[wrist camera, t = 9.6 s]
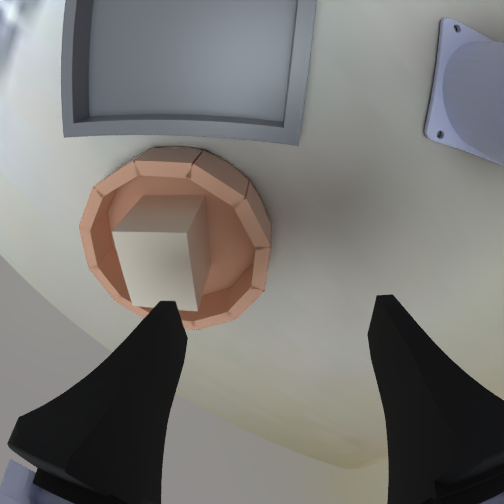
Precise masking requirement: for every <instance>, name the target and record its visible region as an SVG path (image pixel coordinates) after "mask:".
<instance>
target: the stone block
mask: <svg viewBox="0 0 504 504" xmlns="http://www.w3.org/2000/svg"><path fill="white" fill-rule="evenodd" d="M112 235H113V239H114V243H115V246H116V250H117V254H118V258H119V261H120V265H121V269H122V272H123V276H124V279H125V282H126V286H127V289H128V292H129V295H130V299H131V302H132V305H133V306H140V307H150V308H154V307H155V306H156V305H157V304H158V303H159V301H176V304H177V308H178V310H185V311H198V309H199V305H200V302H201V298H202V295H203V291H204V288H205V284H206V281H207V277H208V274H209V270H210V267H211V257H210V245H209V234H208V221H207V208H206V195H143V196H142V197H141V198H140V199H139V201H138V202H137V203H136V204H135V205H134V206H133V207H132V208H131V210H130V211H129V212H128V213H127V214H126V215H125V216H124V218H123V219H122V220H121V221H120V222H119V224H118V225H117V226H116V227H115V228H114V230H113V231H112Z"/></svg>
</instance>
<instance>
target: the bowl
mask: <svg viewBox="0 0 504 504" xmlns="http://www.w3.org/2000/svg"><path fill="white" fill-rule="evenodd" d="M143 195H206V208H207V221H208V234H209V245H210V257H211V267H210V270H209V274H208V277H207V281H206V284H205V288H204V291H203V295H202V298H201V302H200V305H199V309H198V311H185V310H178V311H179V314H180V317H181V320H182V323H183V326H184V328H186V329H193V330H195V328H196V330H198V329H201V328H205V327H209V326H213V325H217V324H221V323H225V322H228V321H232V320H235V319H237V318H238V317H239V316H240V315H241V314H242V313H243V312H244V311H245V310H246V309H247V308H248V307H249V306H250V305H251V304H252V303H253V302H254V301H255V300H256V299H257V298H258V297H259V296H260V295H261V294H262V293H263V292H264V290H265V284H266V277H267V270H268V263H269V256H270V249H271V223H270V221H269V219H268V217H267V213H266V209H265V207H264V204H263V202H262V199H261V198H260V196H259V194H258V192H257V191H256V189H255V188H254V186H253V185H252V184H251V182H250V181H249V179H247V178H246V177H245V176H244V175H243V174H242V173H241V172H240V171H239V170H238V169H237V168H236V167H234V166H233V165H232V164H230V163H229V162H227V161H226V160H224V159H222V158H220V157H219V156H217V155H214V154H212V153H209V152H207V151H204V150H200V149H196V148H192V147H184V146H166V147H161V148H150V149H148V150H147V151H145V152H143V153H141V154H140V155H138V156H136V157H134V158H133V159H131V160H130V161H128V162H127V163H125V164H123V165H122V166H120V167H119V168H117V169H116V170H114V171H113V172H111V173H110V174H109V175H107V176H106V177H105V178H104V179H102V180H101V181H100V182H99V183H97V184H96V185H95V186H94V187H93V189H92V191H91V194H90V197H89V199H88V202H87V205H86V208H85V210H84V213H83V216H82V219H81V222H80V225H79V226H80V227H79V229H80V234H81V239H82V243H83V248H84V252H85V256H86V260H87V264H88V267H89V269H90V270H91V272H92V273H93V274H94V276H95V277H96V278H97V279H98V281H99V282H100V283H101V285H102V286H103V287H104V288H105V290H106V291H107V292H108V293H109V294H110V296H111V297H112V298H113V299H114V300H115V301H116V300H117V301H116V302H117V303H119V304H120V305H122V306H124V307H126V308H127V309H129V310H131V311H132V312H134V313H136V314H138V315H139V316H141V317H143V318H145V317H146V316H147V315H148V314H149V312H150V311H151V310H152V309H153V308H150V307H140V306H133V305H132V302H131V299H130V295H129V292H128V289H127V286H126V282H125V279H124V276H123V272H122V269H121V265H120V261H119V258H118V254H117V250H116V246H115V243H114V239H113V235H112V231H113V230H114V228H115V227H116V226H117V225H118V224H119V222H120V221H121V220H122V219H123V218H124V216H125V215H126V214H127V213H128V212H129V211H130V210H131V208H132V207H133V206H134V205H135V204H136V203H137V202H138V201H139V199H140V198H141V197H142V196H143Z"/></svg>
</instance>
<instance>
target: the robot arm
mask: <svg viewBox="0 0 504 504" xmlns="http://www.w3.org/2000/svg"><path fill="white" fill-rule="evenodd" d="M454 25H455V26H456V27H457V30H458V31H457V32H456V31H455V30H454ZM438 131H441V136H440V137H437V133H438ZM424 133H425V136H426V137H427V138H428V139H430V140H432V141H435V142H439V143H442V144H445V145H448V146H451V147H454V148H457V149H460V150H463V151H466V152H468V153H471V154H474V155H477V156H479V157H482V158H484V159H487V160H490V161H492V162H495V163H497V164H499V165H502V166H504V42H494V41H493V40H491V39H489V38H488V37H486V36H484V35H482V34H480V33H479V32H477V31H475V30H473V29H471V28H469V27H467V26H465V25H463V24H461V23H459V22H457V21H455V20H453V19H451V18H443V19H442V20H441V24H440V35H439V45H438V54H437V62H436V69H435V76H434V82H433V88H432V94H431V100H430V105H429V110H428V115H427V120H426V125H425V130H424ZM187 339H188V338H187V335H186V332H185V329H184V326H183V323H182V320H181V317H180V314H179V311H178V308H177V304H176V301H159V303H158V304H157V305H156V306H155V307H154V308H153V309H152V310H151V311H150V312H149V314H148V315H147V316H146V317H145V318H144V319H143V320H142V321H141V323H140V324H139V325H138V326H137V327H136V328H135V329H134V330H133V332H132V333H131V334H130V335H129V336H128V337H127V338H126V339H125V340H124V341H123V342H122V343H121V344H120V345H119V346H118V348H117V349H116V350H115V351H114V352H113V353H112V354H111V355H110V356H109V357H108V358H107V359H106V360H104V361H103V362H102V363H101V364H100V365H99V366H98V367H97V368H96V369H94V370H93V371H92V372H91V373H90V374H89V375H87V376H86V377H85V378H84V379H82V380H81V381H80V382H78V383H77V384H75V385H74V386H73V387H71V388H70V389H69V390H67V391H66V392H64V393H63V394H61V395H60V396H58V397H57V398H55V399H53V400H52V401H50V402H48V403H47V404H45V405H43V406H41V407H39V408H38V409H35V410H33V411H31V412H29V413H27V414H25V415H23V416H20V417H19V418H18V420H17V423H16V425H15V427H14V430H13V432H12V434H11V436H10V439H9V441H8V446H9V448H10V449H12V450H13V451H14V452H15V453H17V454H18V455H19V456H21V457H22V458H24V459H25V460H27V461H28V462H30V463H31V464H33V465H34V466H36V467H37V468H38V469H37V472H36V473H35V472H33V471H31V470H30V469H28V468H26V467H24V466H22V465H20V464H18V463H17V462H15V461H13V460H12V459H11V460H9V463H8V466H7V469H6V471H5V474H4V477H3V480H2V483H1V486H0V504H161V478H162V463H163V453H164V444H165V436H166V430H167V423H168V418H169V413H170V409H171V406H172V402H173V399H174V395H175V392H176V388H177V385H178V382H179V378H180V374H181V371H182V367H183V364H184V359H185V353H186V346H187ZM368 341H369V348H370V355H371V360H372V364H373V368H374V372H375V376H376V380H377V384H378V388H379V392H380V396H381V400H382V404H383V408H384V414H385V420H386V429H387V440H388V459H389V486H388V503H387V504H504V400H502V399H501V398H499V397H498V396H496V395H494V394H493V393H492V392H490V391H489V390H487V389H486V388H485V387H483V386H482V385H481V384H479V383H478V382H477V381H475V380H474V379H473V378H472V377H470V376H469V375H468V374H467V373H466V372H464V371H463V370H462V369H461V368H460V367H459V366H458V365H457V364H455V363H454V362H453V361H452V360H451V359H450V358H449V357H448V356H447V355H446V354H445V353H444V352H443V351H442V350H441V349H440V348H439V347H438V346H437V345H436V344H435V343H434V342H433V340H432V339H431V338H430V337H429V336H428V335H427V334H426V333H425V332H424V330H423V329H422V328H421V327H420V326H419V325H418V324H417V322H416V321H415V320H414V319H413V318H412V317H411V315H410V314H409V313H408V312H407V311H406V310H405V308H404V307H403V306H402V305H401V304H400V302H399V301H398V300H397V299H396V298H395V297H394V296H393V295H378V296H377V297H376V302H375V306H374V310H373V315H372V319H371V323H370V327H369V331H368Z"/></svg>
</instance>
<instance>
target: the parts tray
mask: <svg viewBox="0 0 504 504" xmlns="http://www.w3.org/2000/svg"><path fill="white" fill-rule="evenodd" d="M315 7H316V0H66V3H65V11H64V21H63V34H62V54H61V99H62V119H63V133H64V137H80V136H101V135H179V136H201V137H217V138H231V139H243V140H253V141H263V142H272V143H281V144H289V145H296V146H298V145H299V138H300V131H301V124H302V116H303V109H304V101H305V93H306V86H307V78H308V70H309V61H310V53H311V44H312V35H313V26H314V17H315Z"/></svg>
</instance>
